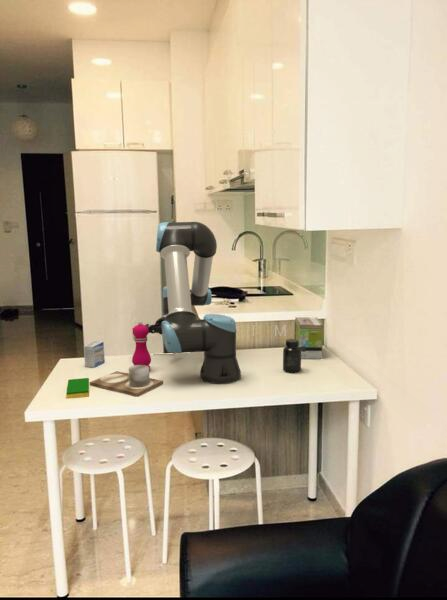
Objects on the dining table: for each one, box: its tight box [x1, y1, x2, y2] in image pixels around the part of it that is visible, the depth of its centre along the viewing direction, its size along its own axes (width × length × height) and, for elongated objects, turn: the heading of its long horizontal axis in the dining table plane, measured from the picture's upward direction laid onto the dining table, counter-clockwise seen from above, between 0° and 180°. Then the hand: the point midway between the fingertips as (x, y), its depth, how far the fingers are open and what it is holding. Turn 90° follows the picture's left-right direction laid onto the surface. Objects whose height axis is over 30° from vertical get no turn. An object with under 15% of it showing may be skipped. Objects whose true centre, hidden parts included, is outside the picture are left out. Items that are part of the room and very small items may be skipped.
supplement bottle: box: [282, 338, 302, 374], centre depth 194 cm, size 7×7×12 cm
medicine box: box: [83, 340, 105, 368], centre depth 203 cm, size 8×4×9 cm, turn 162°
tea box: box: [294, 316, 324, 360], centre depth 215 cm, size 15×10×15 cm
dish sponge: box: [66, 377, 90, 399], centre depth 176 cm, size 7×14×2 cm, turn 14°
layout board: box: [89, 365, 164, 398], centre depth 180 cm, size 22×14×7 cm, turn 59°
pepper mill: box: [131, 320, 152, 373], centre depth 194 cm, size 7×7×20 cm
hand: (149, 337), depth 203 cm, fingers open, 13 cm apart
